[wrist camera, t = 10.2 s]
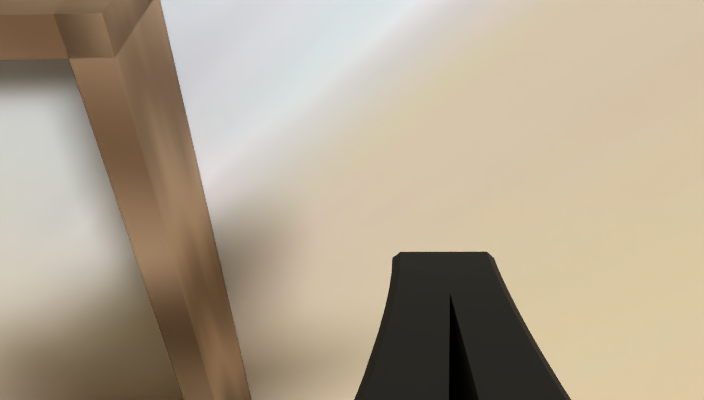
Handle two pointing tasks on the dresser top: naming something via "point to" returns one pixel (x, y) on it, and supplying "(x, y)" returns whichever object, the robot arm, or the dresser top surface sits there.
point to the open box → (145, 170)
